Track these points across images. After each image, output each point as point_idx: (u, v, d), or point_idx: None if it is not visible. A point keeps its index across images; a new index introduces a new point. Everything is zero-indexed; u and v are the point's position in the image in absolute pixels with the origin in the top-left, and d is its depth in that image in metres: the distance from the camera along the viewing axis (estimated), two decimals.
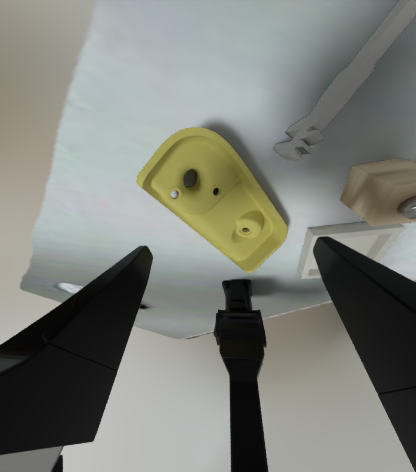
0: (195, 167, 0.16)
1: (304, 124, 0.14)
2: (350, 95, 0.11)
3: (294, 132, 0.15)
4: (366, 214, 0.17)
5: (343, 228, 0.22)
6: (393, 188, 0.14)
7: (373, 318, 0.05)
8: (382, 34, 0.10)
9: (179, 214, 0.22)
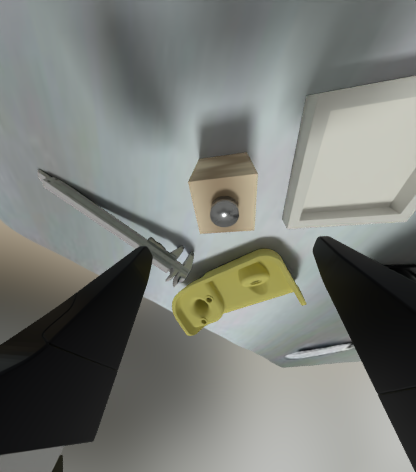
0: (193, 302, 0.27)
1: None
2: None
3: None
4: None
5: (292, 187, 0.15)
6: (203, 233, 0.13)
7: (373, 318, 0.05)
8: None
9: None
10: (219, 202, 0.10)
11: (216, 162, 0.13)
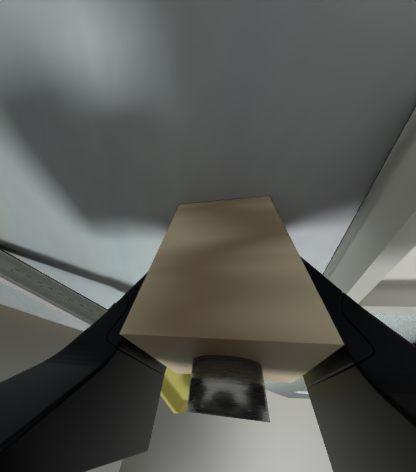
0: None
1: None
2: None
3: None
4: None
5: (351, 256, 0.08)
6: (182, 372, 0.06)
7: None
8: (76, 321, 0.12)
9: None
10: (212, 403, 0.03)
11: (209, 226, 0.06)
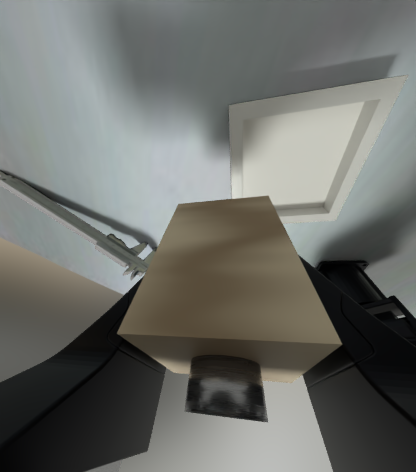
0: None
1: None
2: (108, 253, 0.19)
3: (139, 253, 0.23)
4: None
5: (231, 187, 0.16)
6: (180, 372, 0.06)
7: None
8: (87, 239, 0.20)
9: None
10: (209, 403, 0.03)
11: (208, 225, 0.06)
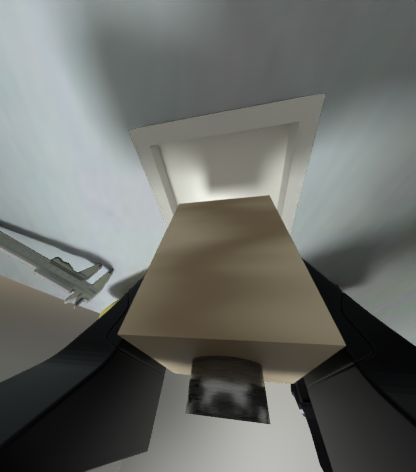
0: None
1: None
2: (48, 279, 0.18)
3: (91, 276, 0.21)
4: None
5: None
6: (181, 373, 0.06)
7: None
8: (27, 265, 0.18)
9: None
10: (211, 405, 0.03)
11: (209, 225, 0.06)
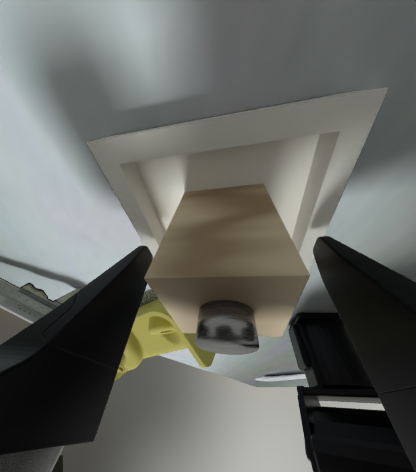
0: None
1: None
2: (14, 313, 0.15)
3: None
4: None
5: None
6: (188, 332, 0.07)
7: (373, 318, 0.05)
8: None
9: None
10: (214, 328, 0.04)
11: (211, 207, 0.07)
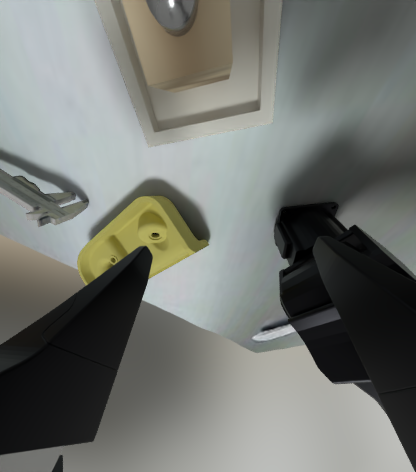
0: (104, 266, 0.25)
1: None
2: (8, 192, 0.16)
3: (62, 203, 0.19)
4: (219, 71, 0.08)
5: None
6: (152, 84, 0.08)
7: (373, 318, 0.05)
8: None
9: (153, 273, 0.28)
10: None
11: None
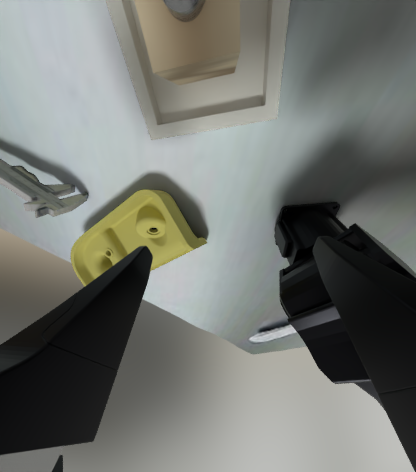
0: (99, 259, 0.24)
1: None
2: (6, 182, 0.16)
3: (61, 195, 0.19)
4: (225, 61, 0.08)
5: None
6: (158, 71, 0.08)
7: (373, 318, 0.05)
8: None
9: None
10: None
11: None
